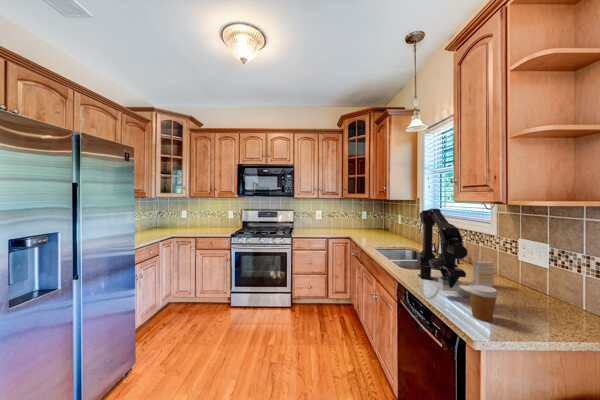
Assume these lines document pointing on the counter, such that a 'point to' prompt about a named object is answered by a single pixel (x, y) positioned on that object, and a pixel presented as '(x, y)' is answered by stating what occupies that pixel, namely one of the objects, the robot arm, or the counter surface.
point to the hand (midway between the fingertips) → (448, 285)
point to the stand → (464, 290)
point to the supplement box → (483, 273)
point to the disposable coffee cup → (482, 301)
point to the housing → (447, 284)
